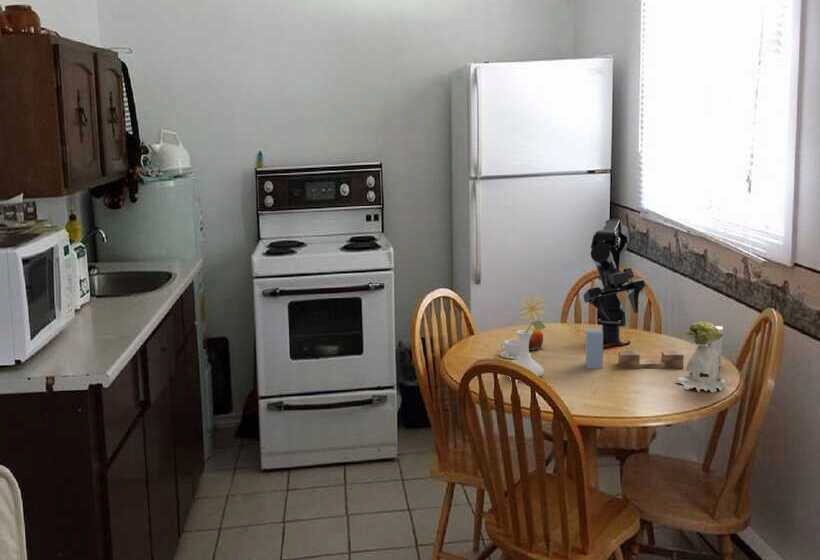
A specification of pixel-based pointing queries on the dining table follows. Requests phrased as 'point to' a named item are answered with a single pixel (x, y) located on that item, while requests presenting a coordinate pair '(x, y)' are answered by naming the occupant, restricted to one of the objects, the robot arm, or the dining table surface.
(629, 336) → the dining table surface
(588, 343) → the blue block
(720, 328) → the skincare box
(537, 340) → the fruit
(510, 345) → the teacup
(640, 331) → the dining table surface
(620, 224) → the robot arm
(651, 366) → the slotted plank
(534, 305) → the flower in vase
